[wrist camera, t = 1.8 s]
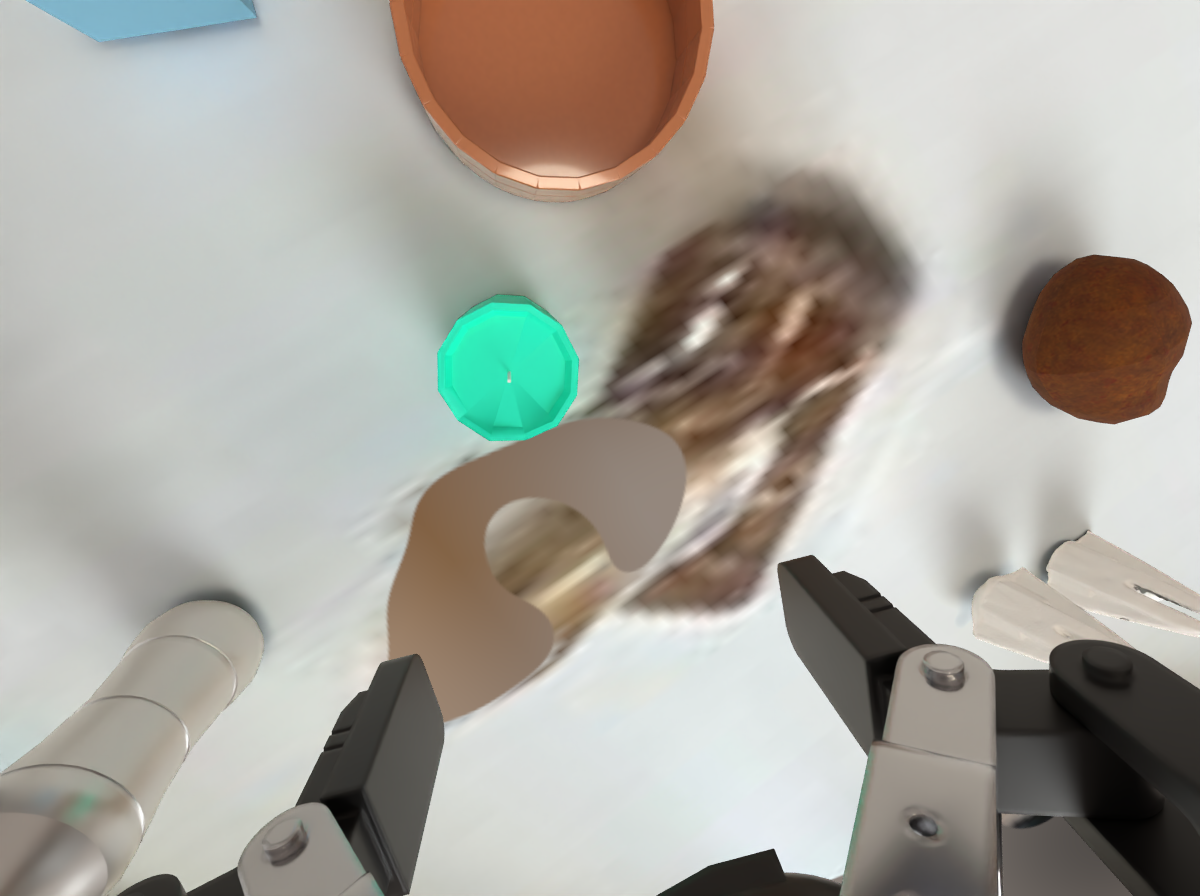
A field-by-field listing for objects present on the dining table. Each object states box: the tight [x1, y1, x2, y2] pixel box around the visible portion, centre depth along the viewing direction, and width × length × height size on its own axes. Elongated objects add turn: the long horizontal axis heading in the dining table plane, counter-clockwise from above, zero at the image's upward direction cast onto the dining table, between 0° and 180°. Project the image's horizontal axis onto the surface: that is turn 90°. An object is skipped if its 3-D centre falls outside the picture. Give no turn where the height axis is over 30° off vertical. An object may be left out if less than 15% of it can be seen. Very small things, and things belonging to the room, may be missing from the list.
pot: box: [389, 0, 714, 202], centre depth 28 cm, size 14×14×5 cm
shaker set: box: [972, 530, 1200, 664], centre depth 40 cm, size 12×4×11 cm, turn 108°
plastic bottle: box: [0, 600, 264, 896], centre depth 27 cm, size 6×7×20 cm
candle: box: [437, 294, 579, 441], centre depth 29 cm, size 6×6×12 cm
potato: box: [1022, 255, 1192, 424], centre depth 36 cm, size 8×11×8 cm
